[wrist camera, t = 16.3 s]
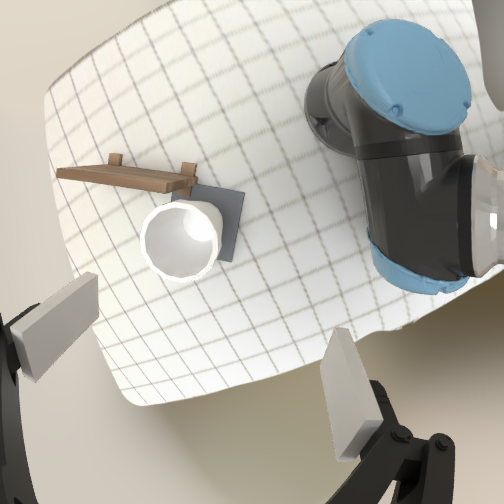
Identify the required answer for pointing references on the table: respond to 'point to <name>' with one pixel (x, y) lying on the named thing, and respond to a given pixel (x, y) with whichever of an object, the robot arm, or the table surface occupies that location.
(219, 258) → the mat
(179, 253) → the foam cup
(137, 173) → the screen
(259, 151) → the table surface
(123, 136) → the table surface
